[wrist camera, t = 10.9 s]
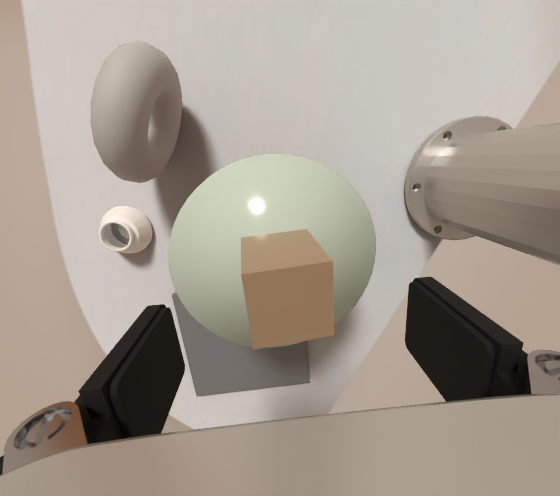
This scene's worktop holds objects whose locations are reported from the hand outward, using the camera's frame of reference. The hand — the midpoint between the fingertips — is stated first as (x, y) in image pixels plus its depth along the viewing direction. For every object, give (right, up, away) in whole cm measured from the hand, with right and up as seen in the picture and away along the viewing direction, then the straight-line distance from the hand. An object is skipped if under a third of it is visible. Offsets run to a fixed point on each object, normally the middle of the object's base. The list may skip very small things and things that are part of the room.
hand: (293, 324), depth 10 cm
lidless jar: (-17, +5, +18) cm, 25 cm away
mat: (-5, -9, +23) cm, 25 cm away
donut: (-11, +15, +15) cm, 24 cm away
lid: (-1, +2, +7) cm, 8 cm away
